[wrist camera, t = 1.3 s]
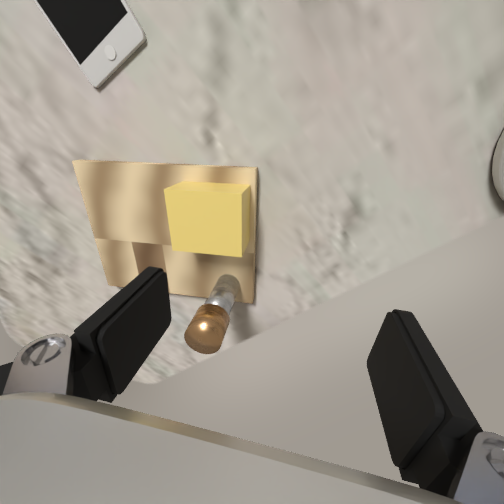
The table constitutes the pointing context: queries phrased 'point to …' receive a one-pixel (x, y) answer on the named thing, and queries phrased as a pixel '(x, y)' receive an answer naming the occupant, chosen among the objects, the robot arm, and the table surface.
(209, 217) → the yellow rectangular block
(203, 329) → the two-tone metal cylinder
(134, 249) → the subfloor panel
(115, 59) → the smartphone
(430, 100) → the table surface
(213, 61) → the table surface
